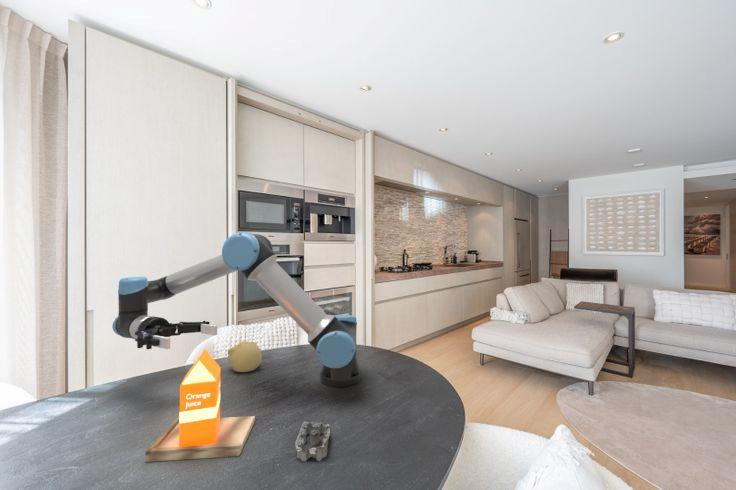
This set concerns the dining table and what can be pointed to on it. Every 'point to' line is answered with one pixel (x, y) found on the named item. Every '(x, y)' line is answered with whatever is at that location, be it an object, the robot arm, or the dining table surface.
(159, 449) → the serving board
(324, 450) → the egg carton
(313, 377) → the dining table surface
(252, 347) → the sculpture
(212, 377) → the orange juice
